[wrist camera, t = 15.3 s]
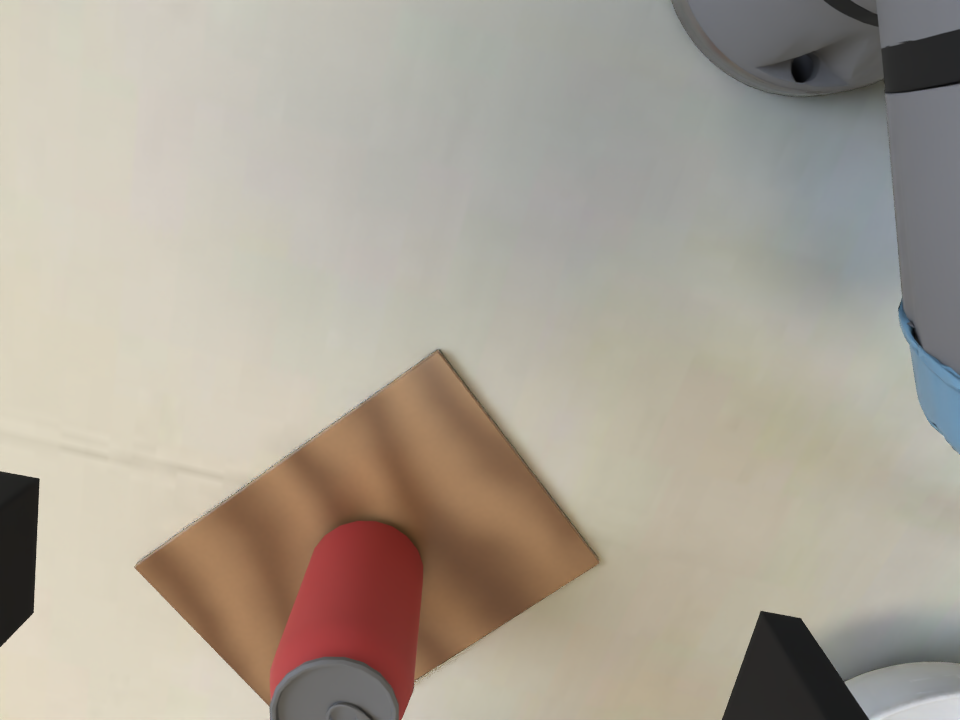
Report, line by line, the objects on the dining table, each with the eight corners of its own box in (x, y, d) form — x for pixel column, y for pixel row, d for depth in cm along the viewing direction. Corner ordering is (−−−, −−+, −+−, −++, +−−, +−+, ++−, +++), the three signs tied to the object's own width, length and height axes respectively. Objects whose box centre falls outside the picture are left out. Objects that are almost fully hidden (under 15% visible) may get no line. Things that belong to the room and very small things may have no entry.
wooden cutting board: (438, 349, 40) (437, 351, 40) (598, 558, 44) (600, 563, 44) (137, 562, 43) (133, 567, 43) (310, 742, 47) (309, 748, 47)
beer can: (392, 632, 44) (368, 799, 33) (292, 586, 44) (231, 743, 32) (444, 545, 43) (438, 689, 31) (342, 496, 42) (296, 626, 30)
